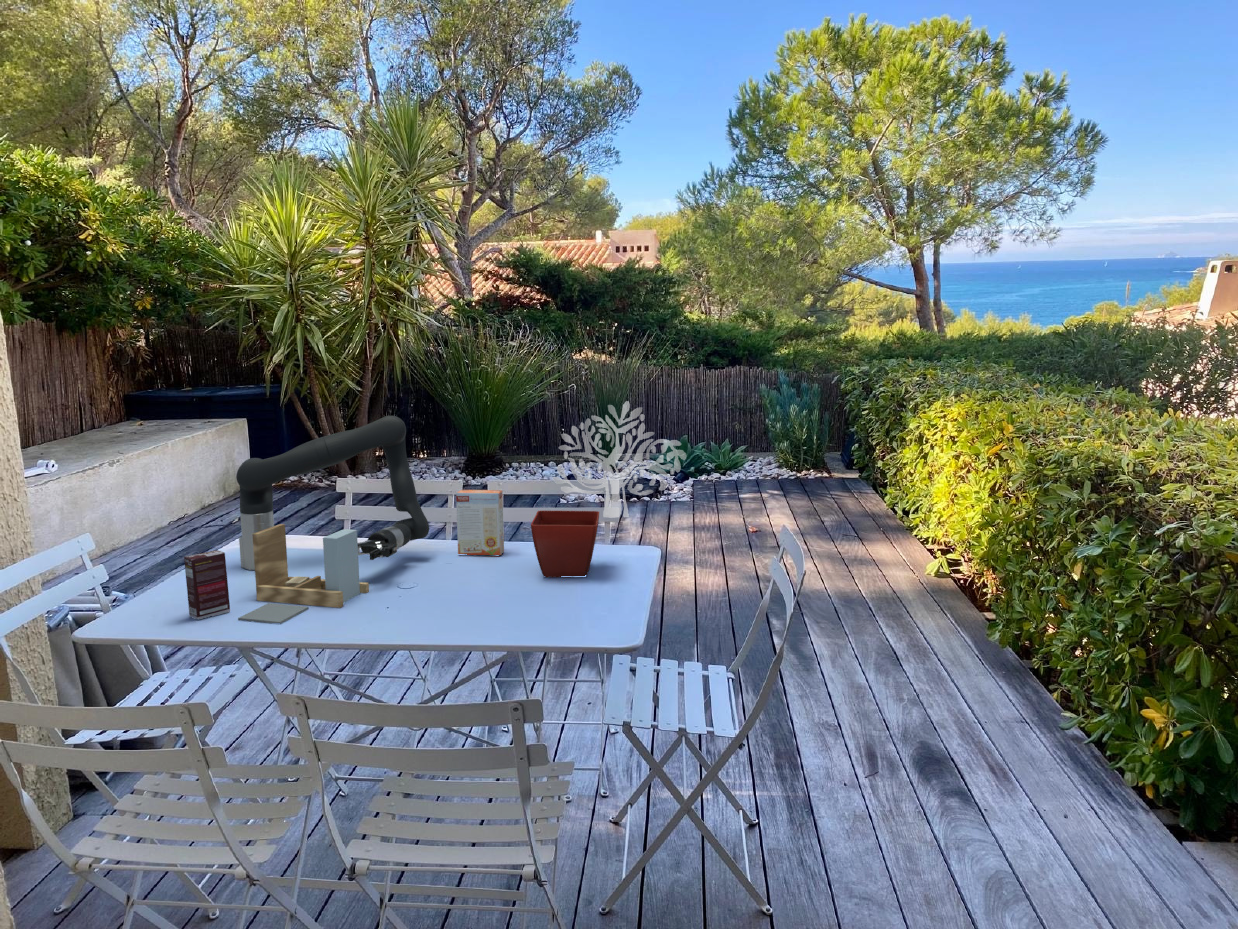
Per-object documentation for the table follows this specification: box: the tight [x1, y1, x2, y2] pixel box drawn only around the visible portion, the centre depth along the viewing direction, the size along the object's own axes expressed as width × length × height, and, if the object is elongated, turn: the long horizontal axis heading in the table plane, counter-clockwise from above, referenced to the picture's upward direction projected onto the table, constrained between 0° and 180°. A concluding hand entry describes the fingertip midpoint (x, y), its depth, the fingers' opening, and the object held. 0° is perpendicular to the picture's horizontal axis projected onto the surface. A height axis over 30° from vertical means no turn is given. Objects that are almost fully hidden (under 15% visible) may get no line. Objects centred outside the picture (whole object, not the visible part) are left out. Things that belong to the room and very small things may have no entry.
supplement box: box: [183, 549, 231, 620], centre depth 217 cm, size 9×5×16 cm, turn 141°
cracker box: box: [455, 489, 505, 556], centre depth 275 cm, size 14×6×21 cm, turn 84°
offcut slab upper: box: [285, 576, 310, 587], centre depth 235 cm, size 4×6×2 cm, turn 175°
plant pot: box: [530, 510, 600, 578], centre depth 256 cm, size 19×19×17 cm
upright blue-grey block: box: [322, 528, 361, 604], centre depth 230 cm, size 4×10×18 cm, turn 166°
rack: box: [252, 523, 370, 609], centre depth 232 cm, size 26×14×18 cm, turn 76°
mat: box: [237, 602, 310, 624], centre depth 218 cm, size 12×12×1 cm
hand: (356, 555), depth 237 cm, fingers open, 8 cm apart
